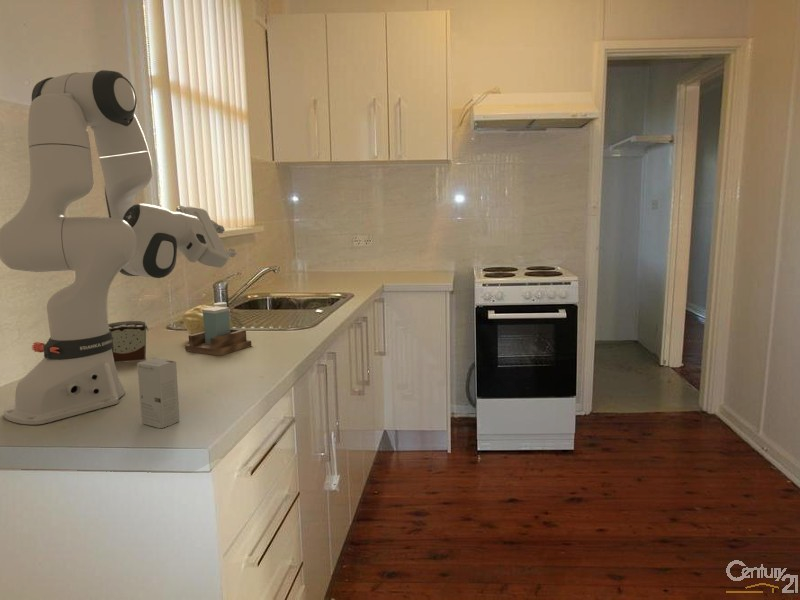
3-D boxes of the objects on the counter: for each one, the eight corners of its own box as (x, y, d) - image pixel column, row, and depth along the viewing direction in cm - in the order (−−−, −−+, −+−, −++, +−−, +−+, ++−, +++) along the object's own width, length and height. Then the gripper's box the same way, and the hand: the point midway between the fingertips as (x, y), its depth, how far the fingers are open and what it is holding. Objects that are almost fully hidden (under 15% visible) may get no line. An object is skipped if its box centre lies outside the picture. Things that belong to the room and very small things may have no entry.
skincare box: (140, 424, 109) (134, 362, 107) (160, 416, 113) (154, 356, 111) (163, 429, 106) (156, 366, 104) (182, 421, 110) (176, 360, 108)
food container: (155, 353, 162) (151, 319, 160) (151, 359, 156) (147, 323, 154) (107, 357, 159) (103, 322, 157) (101, 363, 153) (97, 327, 151)
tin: (217, 345, 163) (214, 310, 161) (205, 344, 165) (202, 309, 164) (231, 341, 167) (228, 307, 165) (219, 340, 170) (216, 306, 168)
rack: (219, 355, 158) (218, 339, 157) (185, 350, 165) (184, 334, 164) (251, 345, 168) (250, 330, 167) (217, 341, 175) (216, 326, 174)
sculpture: (179, 341, 176) (175, 306, 174) (210, 333, 186) (207, 300, 184) (204, 345, 170) (200, 309, 168) (235, 336, 180) (232, 302, 178)
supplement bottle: (210, 335, 183) (207, 303, 181) (224, 331, 187) (221, 301, 186) (221, 337, 180) (218, 305, 178) (235, 333, 184) (233, 302, 182)
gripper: (168, 212, 159) (210, 224, 170) (191, 266, 149) (234, 274, 161) (180, 196, 156) (222, 209, 167) (204, 250, 147) (247, 259, 158)
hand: (228, 241), depth 164 cm, fingers open, 8 cm apart
